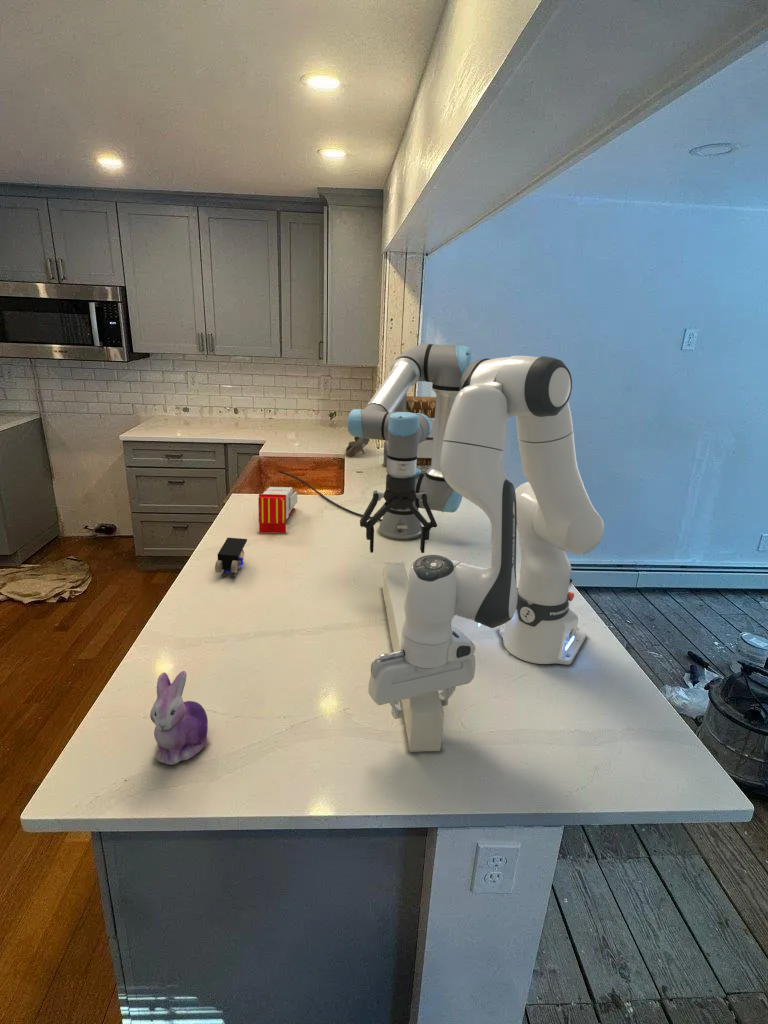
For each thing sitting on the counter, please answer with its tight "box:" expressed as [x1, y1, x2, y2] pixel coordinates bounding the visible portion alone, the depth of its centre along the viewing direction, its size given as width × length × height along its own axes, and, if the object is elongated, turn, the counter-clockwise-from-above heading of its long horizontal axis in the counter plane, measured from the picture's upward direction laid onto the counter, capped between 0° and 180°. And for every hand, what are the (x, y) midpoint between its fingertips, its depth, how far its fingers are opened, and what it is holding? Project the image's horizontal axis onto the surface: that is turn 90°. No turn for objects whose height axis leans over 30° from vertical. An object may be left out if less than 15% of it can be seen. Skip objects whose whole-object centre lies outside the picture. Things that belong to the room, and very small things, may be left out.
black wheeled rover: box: [214, 537, 248, 578], centre depth 166 cm, size 7×8×15 cm
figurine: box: [149, 670, 209, 766], centre depth 98 cm, size 9×10×15 cm
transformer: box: [383, 392, 436, 467], centre depth 268 cm, size 34×33×41 cm
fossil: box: [345, 436, 370, 458], centre depth 306 cm, size 22×10×15 cm
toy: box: [257, 486, 298, 534], centre depth 206 cm, size 12×13×30 cm
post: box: [382, 561, 445, 753], centre depth 130 cm, size 62×6×8 cm, turn 5°
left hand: (396, 550), depth 151 cm, fingers open, 13 cm apart
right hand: (419, 710), depth 105 cm, fingers open, 8 cm apart
